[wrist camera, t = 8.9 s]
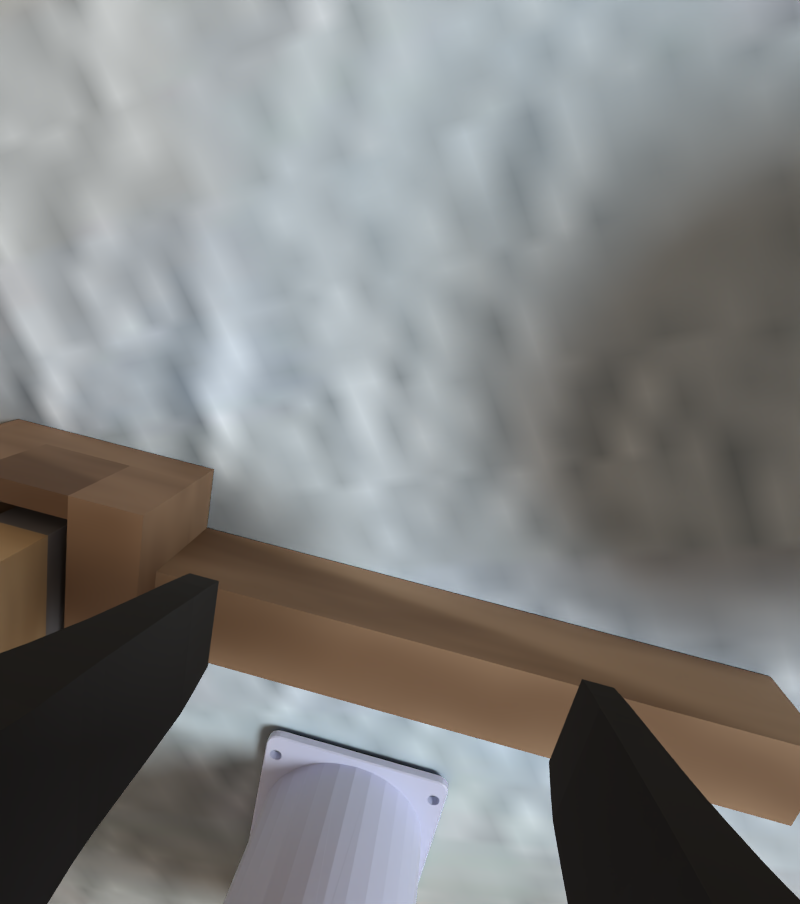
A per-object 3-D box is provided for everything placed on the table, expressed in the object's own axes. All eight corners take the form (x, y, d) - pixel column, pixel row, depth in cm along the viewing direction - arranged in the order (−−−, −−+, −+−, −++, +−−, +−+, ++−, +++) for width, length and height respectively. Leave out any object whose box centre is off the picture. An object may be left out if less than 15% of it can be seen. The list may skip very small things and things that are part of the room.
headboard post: (712, 787, 21) (775, 912, 17) (18, 594, 23) (-87, 662, 18) (800, 620, 18) (900, 716, 14) (18, 419, 20) (-103, 450, 16)
